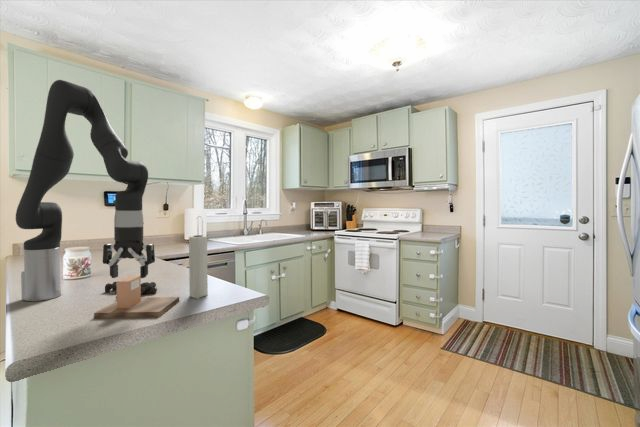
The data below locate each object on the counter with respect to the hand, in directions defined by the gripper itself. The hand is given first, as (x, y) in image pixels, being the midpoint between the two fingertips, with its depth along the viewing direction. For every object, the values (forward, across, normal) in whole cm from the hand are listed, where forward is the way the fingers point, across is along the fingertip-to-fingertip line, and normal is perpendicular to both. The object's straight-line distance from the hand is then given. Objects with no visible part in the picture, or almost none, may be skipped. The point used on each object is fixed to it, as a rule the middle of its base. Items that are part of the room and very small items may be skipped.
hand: (129, 277), depth 92 cm
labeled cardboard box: (+8, 0, 0) cm, 8 cm away
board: (+10, +3, 0) cm, 10 cm away
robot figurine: (+11, -9, +19) cm, 24 cm away
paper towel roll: (+10, +16, +13) cm, 23 cm away
